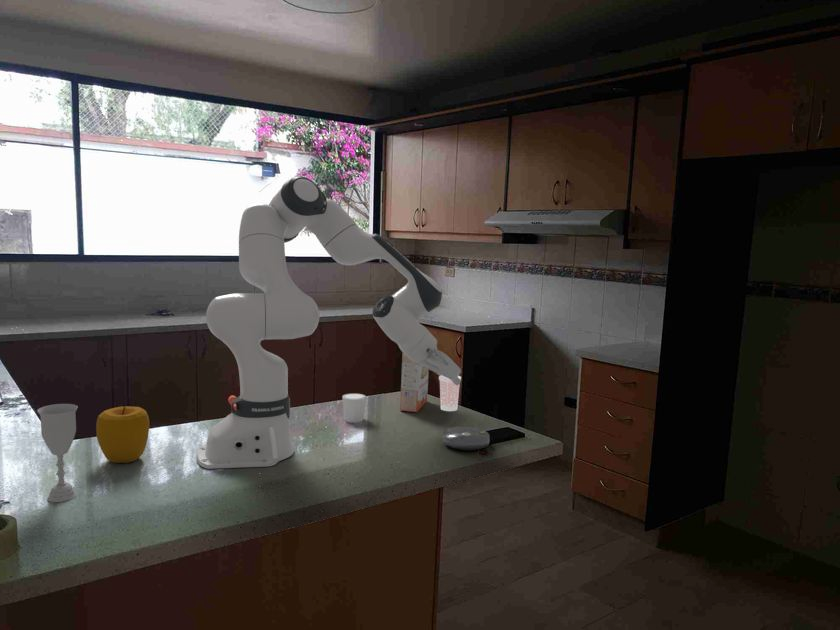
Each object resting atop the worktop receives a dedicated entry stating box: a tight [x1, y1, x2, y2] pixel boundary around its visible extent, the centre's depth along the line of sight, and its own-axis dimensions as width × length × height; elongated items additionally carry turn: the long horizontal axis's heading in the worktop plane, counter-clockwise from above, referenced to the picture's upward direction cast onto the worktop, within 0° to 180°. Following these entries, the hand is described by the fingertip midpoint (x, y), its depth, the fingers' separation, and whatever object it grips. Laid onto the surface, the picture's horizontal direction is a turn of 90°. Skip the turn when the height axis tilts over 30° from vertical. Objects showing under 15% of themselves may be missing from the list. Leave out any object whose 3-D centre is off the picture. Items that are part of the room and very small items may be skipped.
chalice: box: [37, 403, 79, 503], centre depth 120 cm, size 7×7×18 cm
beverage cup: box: [438, 375, 462, 412], centre depth 167 cm, size 6×6×14 cm
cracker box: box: [399, 352, 430, 413], centre depth 191 cm, size 14×6×21 cm, turn 167°
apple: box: [95, 406, 151, 464], centre depth 140 cm, size 11×11×13 cm
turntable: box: [442, 426, 490, 452], centre depth 158 cm, size 12×12×3 cm
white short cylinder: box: [341, 392, 367, 423], centre depth 177 cm, size 7×7×7 cm
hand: (451, 380), depth 167 cm, fingers closed on beverage cup, 6 cm apart
